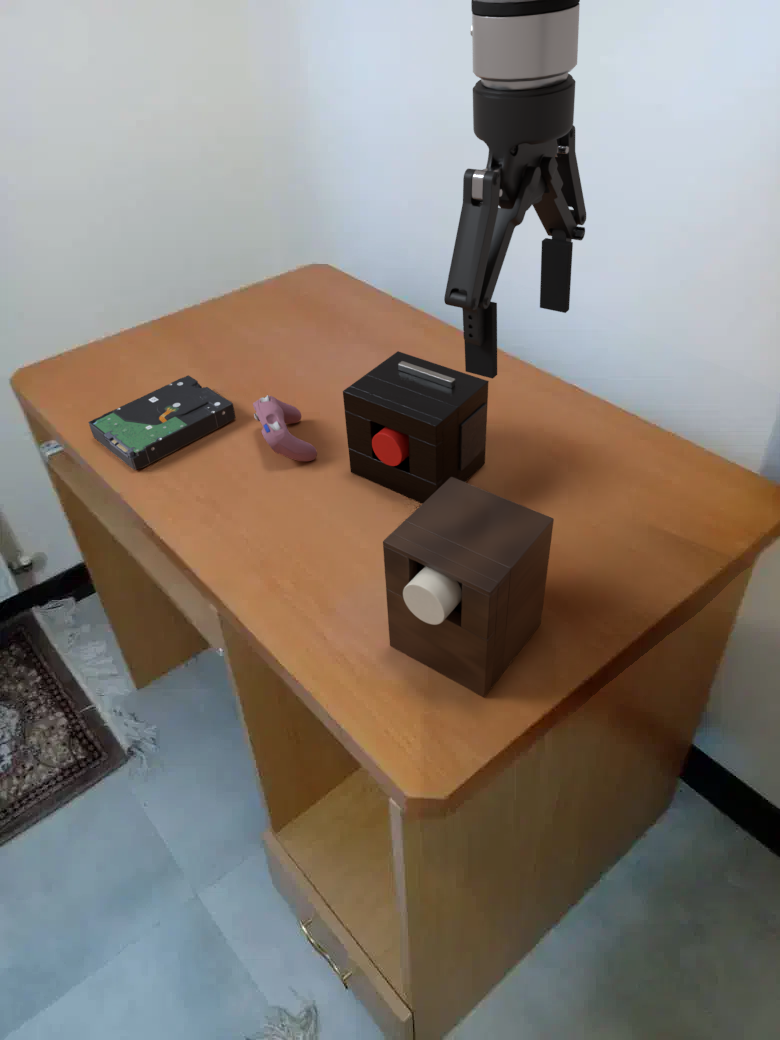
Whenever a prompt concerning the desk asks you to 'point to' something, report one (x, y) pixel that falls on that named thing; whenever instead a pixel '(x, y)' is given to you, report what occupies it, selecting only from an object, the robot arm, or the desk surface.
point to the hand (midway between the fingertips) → (519, 339)
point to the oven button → (391, 446)
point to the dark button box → (417, 424)
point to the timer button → (432, 596)
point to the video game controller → (282, 428)
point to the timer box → (470, 581)
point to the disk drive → (161, 422)
